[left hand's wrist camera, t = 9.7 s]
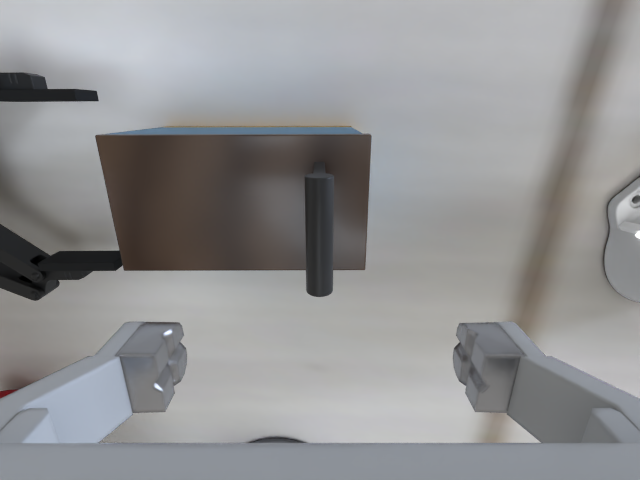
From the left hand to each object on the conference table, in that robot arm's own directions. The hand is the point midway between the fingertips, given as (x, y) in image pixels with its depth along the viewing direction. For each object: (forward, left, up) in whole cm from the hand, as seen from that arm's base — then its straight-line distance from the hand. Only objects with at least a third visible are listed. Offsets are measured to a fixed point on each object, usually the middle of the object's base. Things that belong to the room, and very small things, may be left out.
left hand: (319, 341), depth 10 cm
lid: (+3, -5, -16) cm, 17 cm away
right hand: (+9, -15, -20) cm, 27 cm away
